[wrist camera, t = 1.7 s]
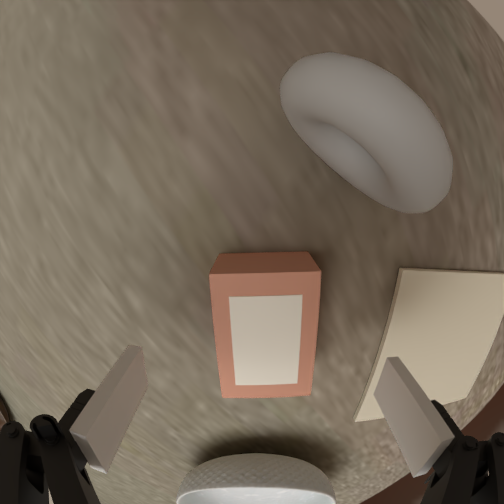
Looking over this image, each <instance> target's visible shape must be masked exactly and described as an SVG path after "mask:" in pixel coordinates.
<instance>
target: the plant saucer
mask: <svg viewBox="0 0 504 504" xmlns="http://www.w3.org/2000/svg"><path fill="white" fill-rule="evenodd" d="M7 422H9V417H8V413H7V410H6V407H5V405H4V403H3V401H2V399H1V397H0V431H1V428H2V426H3V425H4V424H5V423H7Z"/></svg>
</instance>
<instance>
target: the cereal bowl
mask: <svg viewBox="0 0 504 504" xmlns="http://www.w3.org/2000/svg"><path fill="white" fill-rule="evenodd" d="M176 504H336V497H335V493H334V490H333V486H332V484H331V482H330V481H329V478H328V477H327V476H326V475H325V474H324V473H323V471H321V470H320V469H319V468H317V467H315V466H314V465H312V464H310V463H309V462H305V461H304V460H300V459H297V458H293V457H289V456H283V455H275V454H266V453H247V454H238V455H230V456H222V457H219V458H215V459H213V460H209V461H207V462H204V463H203V464H200V465H198V466H196V467H195V468H194V469H193V470H191V471H190V472H189V473H188V474H186V477H185V478H184V479H183V481H182V482H181V485H180V487H179V491H178V495H177V499H176Z"/></svg>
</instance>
